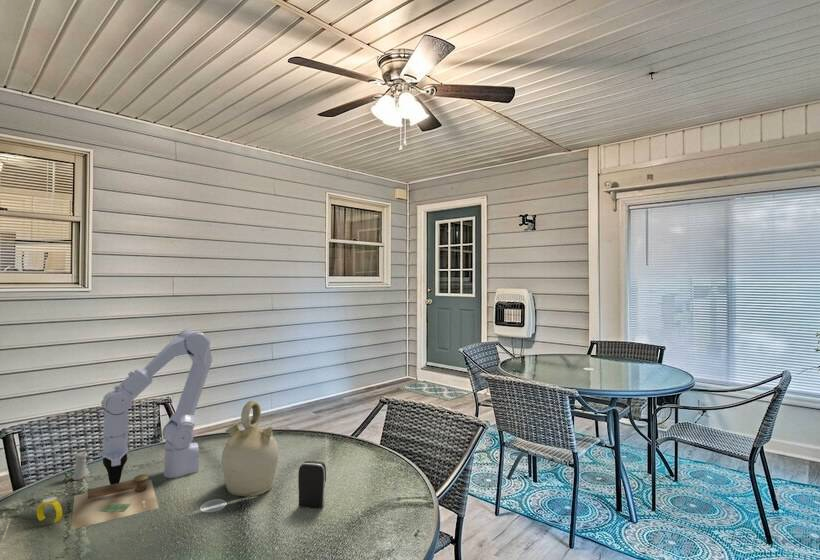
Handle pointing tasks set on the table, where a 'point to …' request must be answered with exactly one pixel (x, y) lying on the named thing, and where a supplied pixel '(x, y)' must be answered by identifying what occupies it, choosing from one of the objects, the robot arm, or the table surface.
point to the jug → (249, 456)
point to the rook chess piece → (80, 466)
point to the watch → (54, 503)
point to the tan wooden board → (112, 506)
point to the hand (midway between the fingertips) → (114, 483)
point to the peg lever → (120, 487)
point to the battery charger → (311, 484)
